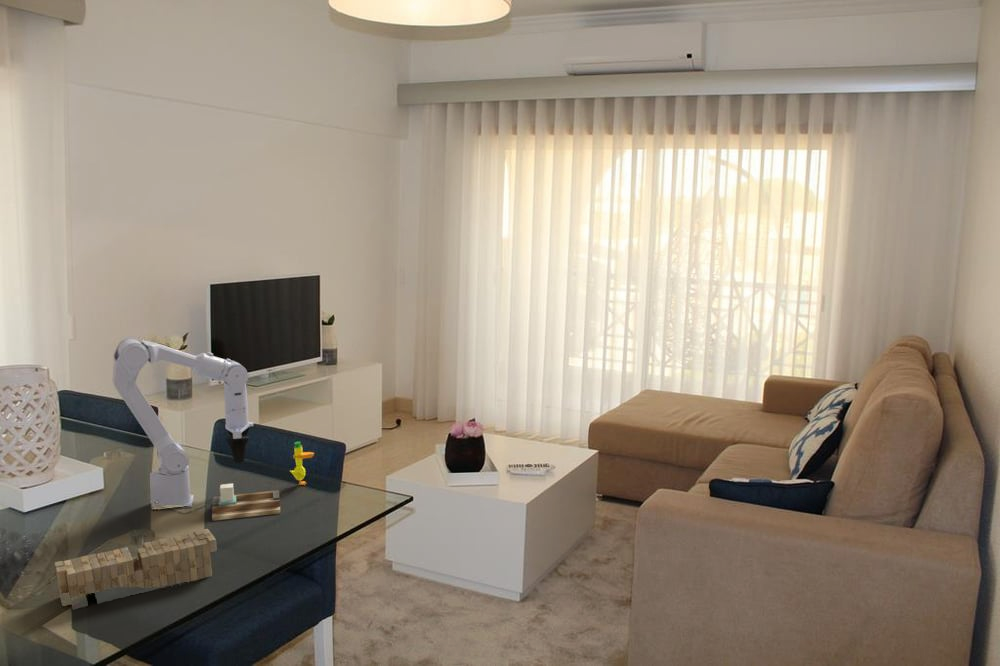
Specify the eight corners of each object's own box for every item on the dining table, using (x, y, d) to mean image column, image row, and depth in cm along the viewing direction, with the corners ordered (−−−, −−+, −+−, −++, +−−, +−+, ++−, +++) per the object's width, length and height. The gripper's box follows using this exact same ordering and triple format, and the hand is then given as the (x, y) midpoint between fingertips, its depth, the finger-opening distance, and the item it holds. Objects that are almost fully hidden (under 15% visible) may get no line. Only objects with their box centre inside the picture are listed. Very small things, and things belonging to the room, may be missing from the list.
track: (212, 520, 204) (211, 509, 204) (214, 503, 215) (213, 493, 215) (280, 513, 208) (279, 502, 208) (279, 496, 220) (278, 486, 219)
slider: (219, 510, 208) (217, 490, 207) (220, 503, 212) (218, 483, 212) (236, 508, 209) (234, 488, 208) (236, 501, 214) (235, 481, 213)
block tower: (64, 618, 159) (220, 575, 175) (58, 577, 158) (216, 537, 173) (59, 601, 166) (211, 561, 181) (54, 561, 164) (207, 525, 180)
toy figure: (314, 481, 232) (312, 439, 230) (316, 485, 228) (314, 442, 227) (289, 483, 230) (287, 441, 228) (290, 488, 226) (288, 445, 224)
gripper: (252, 413, 214) (255, 464, 217) (252, 400, 228) (255, 448, 230) (223, 415, 212) (226, 467, 215) (225, 402, 226) (228, 451, 228)
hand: (239, 457), depth 222 cm, fingers open, 7 cm apart
